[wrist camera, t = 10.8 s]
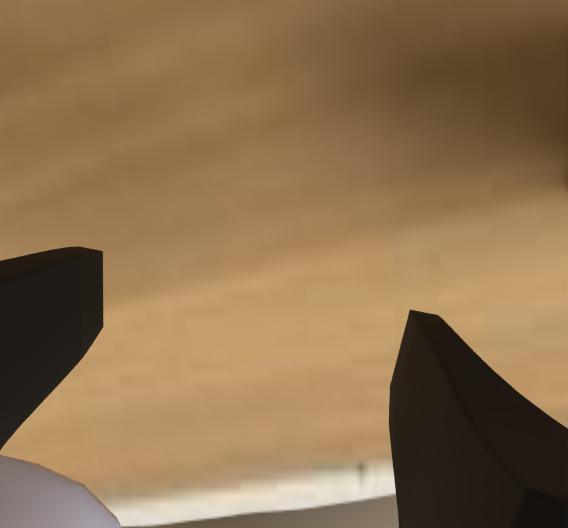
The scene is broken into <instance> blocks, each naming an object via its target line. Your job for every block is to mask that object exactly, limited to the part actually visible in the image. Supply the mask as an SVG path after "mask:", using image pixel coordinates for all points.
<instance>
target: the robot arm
mask: <svg viewBox="0 0 568 528" xmlns="http://www.w3.org/2000/svg"><path fill="white" fill-rule="evenodd" d="M102 328H103V251H100V250H94V249H89V248H84V247H79V246H78V247H66V248H59V249H54V250H48V251H44V252H39V253H34V254H30V255H25V256H21V257H16V258H12V259H7V260H3V261H0V450H1V448H2V447H3V446H4V444H5V443H6V442H7V441H8V440H9V438H10V437H11V436H12V435H13V434H14V432H15V431H16V430H17V429H18V428H19V427H20V425H21V424H22V423H23V422H24V421H25V420H26V419H27V418H28V417H29V416H30V415H31V414H32V413H33V411H34V410H35V409H36V408H37V407H38V406H39V405H40V404H41V403H42V402H43V401H44V400H45V399H46V398H47V396H48V395H49V394H50V393H51V392H52V391H53V390H54V389H55V388H56V387H57V386H58V385H59V384H60V382H61V381H62V380H63V379H64V378H65V377H66V376H67V375H68V374H69V373H70V371H71V370H72V369H73V368H74V367H75V366H76V365H77V364H78V363H79V361H80V360H81V359H82V358H83V357H84V355H85V354H86V352H87V351H88V349H89V348H90V347H91V345H92V344H93V342H94V341H95V339H96V337H97V336H98V334H99V333H100V331H101V330H102ZM389 430H390V440H391V450H392V460H393V469H394V478H395V488H396V497H397V506H398V518H399V528H568V428H566V427H565V426H563V425H562V424H560V423H559V422H557V421H556V420H554V419H553V418H551V417H550V416H549V415H547V414H546V413H545V412H543V411H542V410H541V409H539V408H538V407H537V406H535V405H534V404H533V403H531V402H530V401H529V400H527V399H526V398H525V397H524V396H522V395H521V394H520V393H519V392H517V391H516V390H515V389H514V388H513V387H512V386H510V385H509V384H508V383H507V382H506V381H505V380H504V379H502V378H501V377H500V376H499V375H498V374H497V373H496V372H495V371H494V370H492V369H491V368H490V367H489V366H488V365H487V364H486V363H485V362H484V361H483V360H482V359H481V358H480V357H479V356H478V355H477V354H476V353H475V352H474V351H473V350H472V349H471V348H470V347H469V346H468V345H467V344H466V343H465V342H464V341H463V340H462V339H461V338H460V336H459V335H458V334H457V333H456V332H455V331H454V330H453V329H452V328H451V327H450V326H449V325H448V324H447V323H446V322H445V321H444V320H443V319H442V318H441V317H440V316H438V315H435V314H430V313H424V312H419V311H414V310H410V312H409V315H408V319H407V323H406V327H405V331H404V335H403V338H402V342H401V346H400V350H399V354H398V358H397V362H396V365H395V369H394V373H393V377H392V381H391V385H390V403H389ZM0 528H121V525H120V523H119V521H118V519H117V517H116V516H115V515H114V514H113V513H112V512H111V511H110V510H109V509H108V508H107V507H106V506H105V505H104V504H103V503H102V502H101V501H100V500H99V499H98V498H97V497H96V496H95V495H94V494H93V493H92V492H91V491H90V490H89V489H88V488H87V487H86V486H85V485H84V484H82V483H80V482H77V481H75V480H73V479H71V478H68V477H66V476H64V475H62V474H60V473H57V472H55V471H53V470H51V469H48V468H46V467H44V466H42V465H39V464H36V463H32V462H28V461H24V460H19V459H15V458H11V457H7V456H2V455H0Z"/></svg>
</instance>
